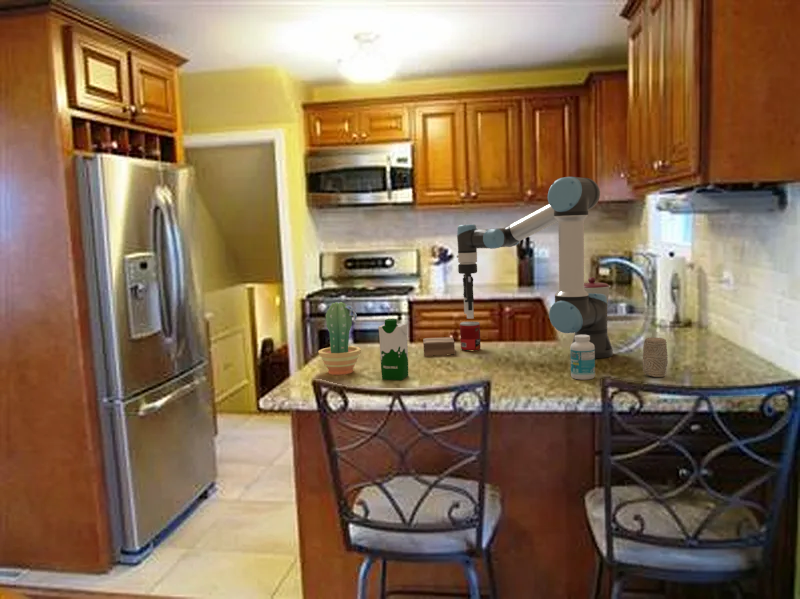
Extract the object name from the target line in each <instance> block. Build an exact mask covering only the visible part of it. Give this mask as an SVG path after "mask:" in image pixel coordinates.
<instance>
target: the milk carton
mask: <svg viewBox="0 0 800 599" xmlns="http://www.w3.org/2000/svg"><path fill="white" fill-rule="evenodd" d="M397 321H398V320H397V319H396V318H388V319H387V318H386V319H384V323H383V324H382V325H379V326H378V336H379V337H378V338H379V354H380V357H379V358H380V370H381V380H382V381H383V380H384V381H388V380H389V381H403V380H404V379H406V378H407V377H409V352H408V323H398V322H397Z"/></svg>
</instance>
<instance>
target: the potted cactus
mask: <svg viewBox="0 0 800 599" xmlns="http://www.w3.org/2000/svg"><path fill="white" fill-rule="evenodd" d="M357 317H358V316H357V313H356V311H355V309H354V307H353V306H352V305H350V304H349V305H348V304H346V303H345V302H342V301H340V302H337V301H335V303H334V302H331V305H330V306H329V308H328V309H327V310H326V313H325V322H326V328H327V330H328V333H329V344H330V346H329V347H325V348H321V349H319V350H318V355H319V357H320V358H321V359H322V362H323V364H324V365H325V367H326V368H327V371H328V372H327V373H328V374H329V375H332V376H333V375H335V376H336V375H338V376H339V375H349V374H351V373H353V372H354V369H353V368H354V367H355V365H356V364H357V362H358V358H359V355H360V354H361V353H362V349H361V348H360V347H358V346H353V345H352V346H349V340H350V332H351V329H352V325H353V323H355V322H356V320H357Z"/></svg>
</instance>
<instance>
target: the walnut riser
mask: <svg viewBox="0 0 800 599" xmlns="http://www.w3.org/2000/svg"><path fill="white" fill-rule="evenodd" d="M422 340H423V357H434V356H433V355H442V356H448V355H447V354H455V355H456V352H455V351H456V350H455V347H456V346H455V340H454V338H453V336H452V337H451V336H449V337H447V336H446V337H426V338H425V337H424V338H423V339H422Z"/></svg>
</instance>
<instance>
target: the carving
mask: <svg viewBox="0 0 800 599" xmlns="http://www.w3.org/2000/svg"><path fill="white" fill-rule="evenodd" d="M642 347H643V348H642V352H643V354H642V372H643V374H644V375H646V376H650V377H653V378H664V377H665V376H666V374H667V372H666V371H667V367H668V362H669V360H668V349H667V348H668V347H667V340H666V339H665V338H662V337H646V338H645V339H644V341H643V346H642Z"/></svg>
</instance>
